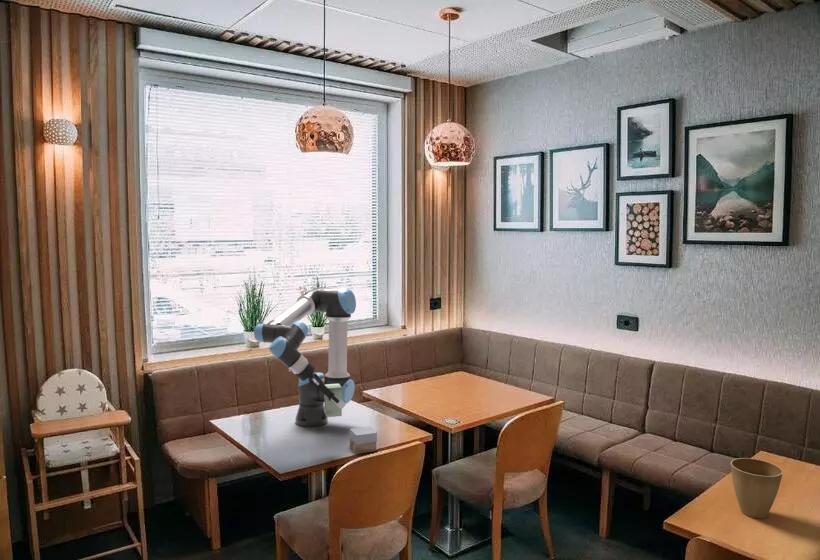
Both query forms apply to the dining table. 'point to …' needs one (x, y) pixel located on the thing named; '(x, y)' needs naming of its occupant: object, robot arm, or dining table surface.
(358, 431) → the slate block
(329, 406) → the sage block
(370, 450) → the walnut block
